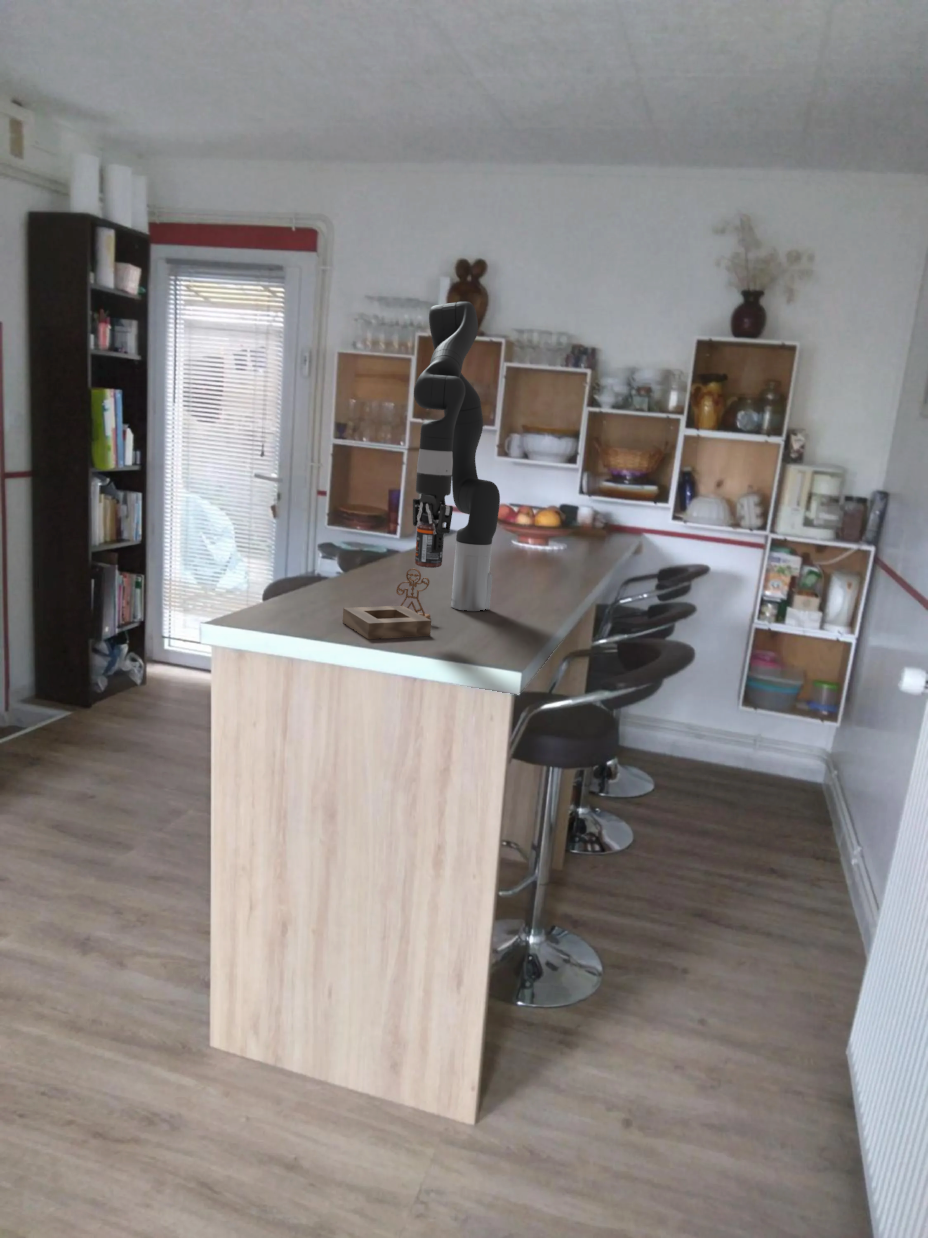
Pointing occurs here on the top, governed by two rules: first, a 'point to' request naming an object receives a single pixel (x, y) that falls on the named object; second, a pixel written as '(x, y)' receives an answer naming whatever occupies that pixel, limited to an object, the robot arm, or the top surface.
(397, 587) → the gingerbread man figurine
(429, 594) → the top surface
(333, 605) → the top surface
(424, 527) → the supplement bottle
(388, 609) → the brown wooden square frame
